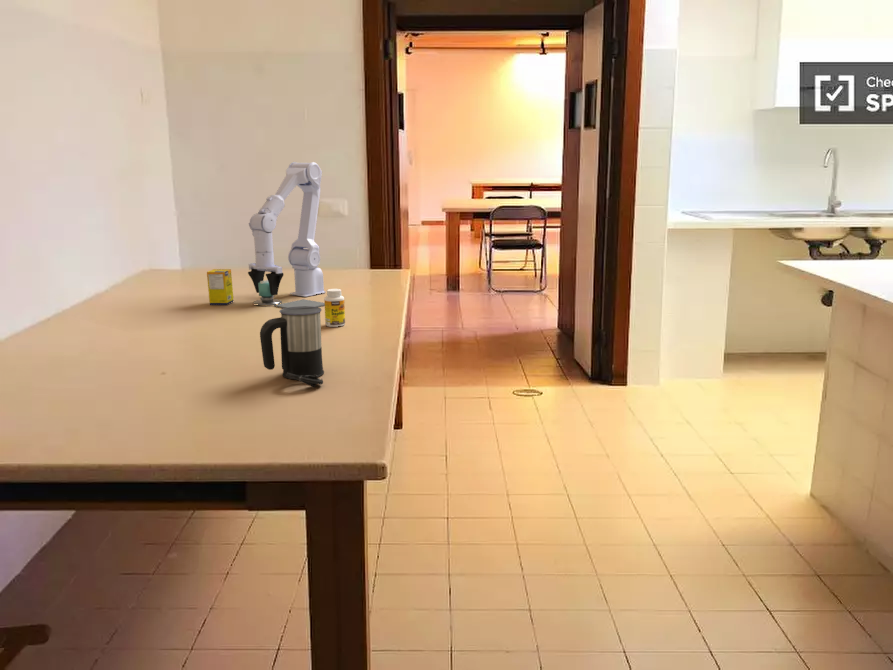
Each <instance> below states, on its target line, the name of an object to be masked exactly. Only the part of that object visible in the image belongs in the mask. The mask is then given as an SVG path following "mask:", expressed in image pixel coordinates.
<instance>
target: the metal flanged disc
mask: <svg viewBox="0 0 893 670" xmlns="http://www.w3.org/2000/svg"><path fill="white" fill-rule="evenodd" d="M252 303H254V304H258V305H276V304H280V303H281V304H283V302H282V299H278V298H275V295H273V296H260V297H259V299H257V300H255V301H253V302H252Z"/></svg>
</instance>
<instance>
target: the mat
mask: <svg viewBox="0 0 893 670" xmlns="http://www.w3.org/2000/svg"><path fill="white" fill-rule="evenodd" d="M275 306H277V307H276V308H279V307H281V308H280V309H284V308H289V307H298V306H312V307H318V308H321V306H322V307H325V302H321V301H316V300H311V299H305V298H303V299H298V300H294V301H293V300H292V301H290V302H282V303H281V304H278V305H274V306H273V307H275Z"/></svg>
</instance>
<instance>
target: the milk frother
mask: <svg viewBox="0 0 893 670" xmlns="http://www.w3.org/2000/svg"><path fill="white" fill-rule="evenodd" d="M321 312H322V308H321V307H312V306H298V307H289V308H280V309H279V313H280V315H281V317H275V318H271V319H268V320H267V321H266V322H264V323H263V324H262V326H261V328H260V332H259V338H260V339H259V340H260V346H261V348H260V349H261V353H262V362H263V363H262V364H263V367H264V368H265V369H267V370H269V371H272V370H274V369H275V366H276V365H275V363H276V362H275V356H274V355H275V352H274V344H273V333H274V331H276V330H277V329H280V331H279V333H280V353H281V354H280V355H281V369H282V373H281V375H282V376H283V377H284V378H286V379H290V380H296V381H298V382H301V383H304V384H306V385H308V386H311V387H312V388H315V387H316V386H317V385H323V384H324V380H323V378H319V377H321V376H323V375H324V374H325V371H324V367H323V366H324V365H323V353H322V350H323V349H322V329H321V327H322V323H321V322H322V321H321Z"/></svg>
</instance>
